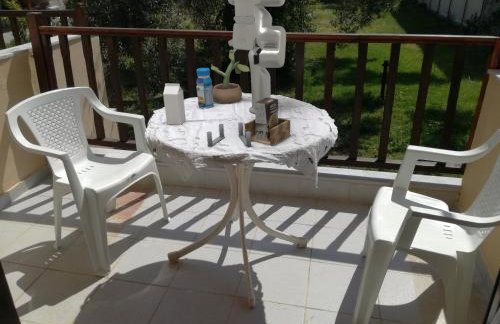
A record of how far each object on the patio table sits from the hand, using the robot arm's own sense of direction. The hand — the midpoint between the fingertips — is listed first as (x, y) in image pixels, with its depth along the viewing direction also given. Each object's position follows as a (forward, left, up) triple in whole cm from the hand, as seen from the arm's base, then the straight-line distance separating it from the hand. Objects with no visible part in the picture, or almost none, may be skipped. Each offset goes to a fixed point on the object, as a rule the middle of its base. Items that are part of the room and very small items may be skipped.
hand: (246, 62), depth 177 cm
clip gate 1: (+17, -5, -31) cm, 35 cm away
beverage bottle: (-19, -43, -31) cm, 56 cm away
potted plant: (-34, -38, -31) cm, 59 cm away
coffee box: (+2, +11, -30) cm, 32 cm away
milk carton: (+8, -38, -31) cm, 50 cm away
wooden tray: (+2, +11, -31) cm, 33 cm away
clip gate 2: (+10, +5, -31) cm, 33 cm away
